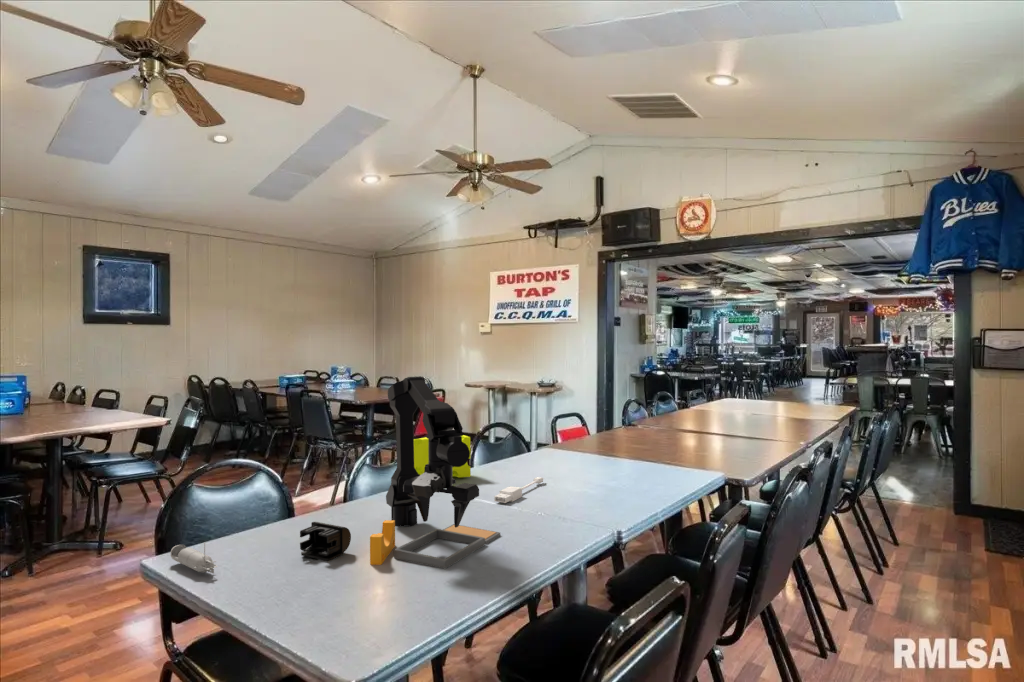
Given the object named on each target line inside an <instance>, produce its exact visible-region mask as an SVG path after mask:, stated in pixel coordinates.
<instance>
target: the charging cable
mask: <svg viewBox="0 0 1024 682" xmlns="http://www.w3.org/2000/svg"><path fill="white" fill-rule="evenodd" d="M544 479H545V478H544V477H541V476H537V477H534V478H533V481H531V482H530V483H527V484H526V485H523V486H522V487H518V486H507V487H505V488H503V489H501V490H500V491H499V493H498V494H496V495H494V496H493V497H494V498H493V499H494V502H497V503H498V502H499V503H504V504H506V503H508V502H509V503H510V502H511V503H512V502H515V501H516V500H517V501H518V500H519V499H520V498H522V497H523V490H524V489H527V488H529V487H531V486H533V485H535V484H541V483H543V482H544Z"/></svg>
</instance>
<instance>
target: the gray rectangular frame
mask: <svg viewBox="0 0 1024 682" xmlns="http://www.w3.org/2000/svg"><path fill="white" fill-rule="evenodd" d="M437 539H441V540H445V541H446V540H447V541H452V542H457V543H463V544H468V545H466V546H464V547H463V548H461V549H460V550H457V551H455V552H454V553H452V554H451V555H449V556H447V557H446V558H441V557H438V556H437V557H436V556H432V555H428V554H423V553H422V554H421V553H419V552H415V551H414V550H417V549H418V548H421V547H422V546H425V545H426V544H429V543H430V542H432V541H435V540H437ZM485 545H486V544H485V538H483V537H478V536H473V535H467V534H462V533H457V532H451V531H446V530H443V529H441V528H440V529H439V528H436V529H433V530H432V531H430V532H429V531H428V532H427V533H426V534H423V535H421V536H418V537H417V538H415V539H413V540H410V541H408V542H407V543H405V544H402V545H400V546H398V547H396V548H395V549H394V548H393V558H394V559H396V560H401V561H405V562H410V563H415V564H420V565H426V566H430V567H434V568H435V567H436V568H439V569H445V570H446V569H447V568H448V567H451V566H452V565H454V564H455V563H457V562H459V561H461V560H462V559H464V558H466V557H467V556H469V555H471V554H472V553H474V552H475V551H477V550H479V549H480V548H482V547H484V546H485Z"/></svg>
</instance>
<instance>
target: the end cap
mask: <svg viewBox="0 0 1024 682" xmlns="http://www.w3.org/2000/svg"><path fill="white" fill-rule="evenodd" d="M306 536H309V537H308V539H305V540H303V541H301V542H299V549H300V550H301V552H300V553H301V554H300V555H301V556H302V557H307V558H311V559H315V560H321V561H323V562H324V561H325V562H331V561H333V560H335V559H337V558H339V557H341V556H342V555H344V553H345V552H346V551H347V549H348V548H349V546H350V543H351V541H352V534H351V530H350V529H349V528H347V527H345V526H342V525H341V526H340V525H336V524H335V525H334V524H330V523H325V522H319V521H312V522H311V526H308V527H305V528H304V529H303V528H302V529H301V530H300V531H299V538H304V537H306Z"/></svg>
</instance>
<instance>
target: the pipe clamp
mask: <svg viewBox="0 0 1024 682" xmlns="http://www.w3.org/2000/svg"><path fill="white" fill-rule="evenodd" d="M395 547H396V526H395V520H389V519H388V520H387V519H384V521H382V526H381V532H378V533H372V534H371V535H370V536H369V564H370V565H372V566H373V565H374V566H375V565H377V566H378V565H379V566H381V565H383V564H384V562H385V560H387V558H388V556H389V555H390V554H391V552H392V551H394V548H395Z"/></svg>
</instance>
